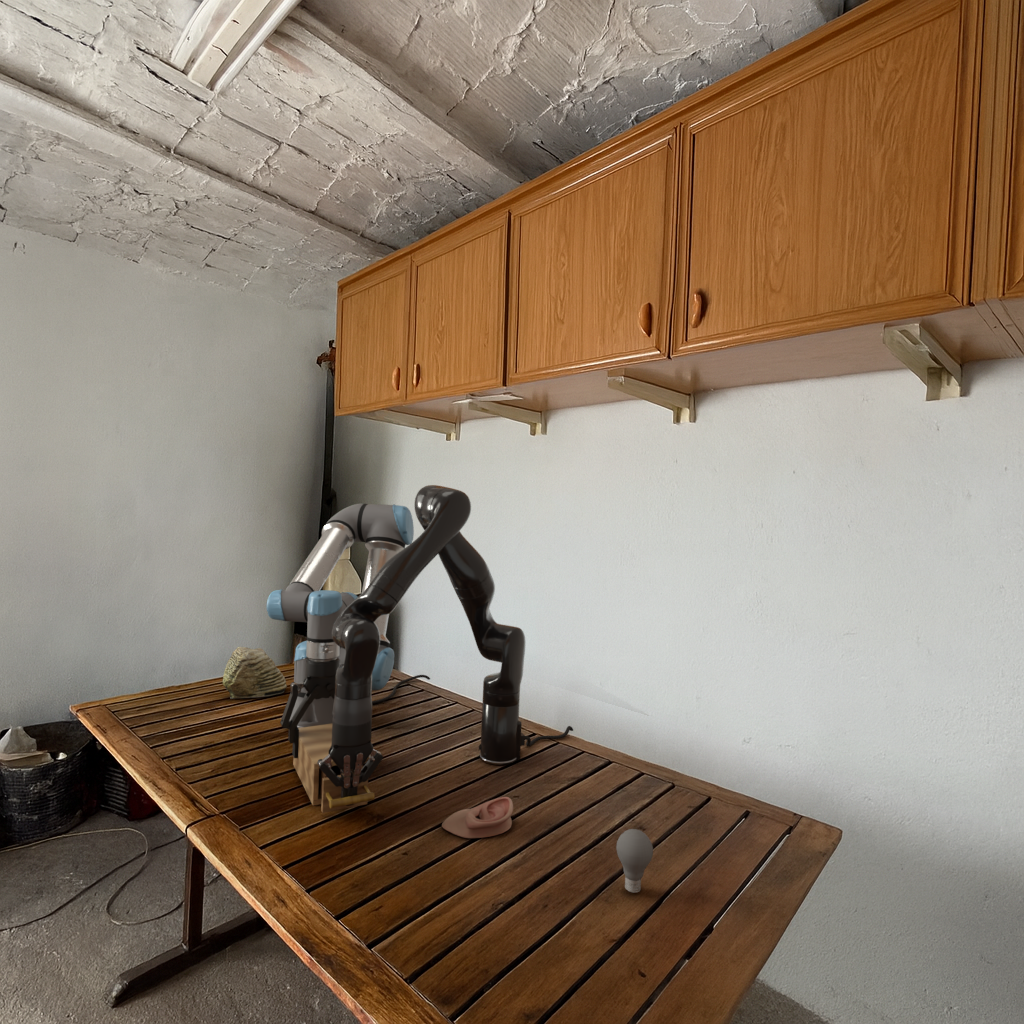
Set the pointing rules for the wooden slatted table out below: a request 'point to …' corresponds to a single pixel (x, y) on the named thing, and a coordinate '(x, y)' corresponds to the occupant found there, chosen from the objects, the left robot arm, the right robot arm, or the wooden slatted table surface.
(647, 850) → the light bulb
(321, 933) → the wooden slatted table surface
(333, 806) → the drawer
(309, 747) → the cabinet
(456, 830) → the anatomical model
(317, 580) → the left robot arm
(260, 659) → the fossil
